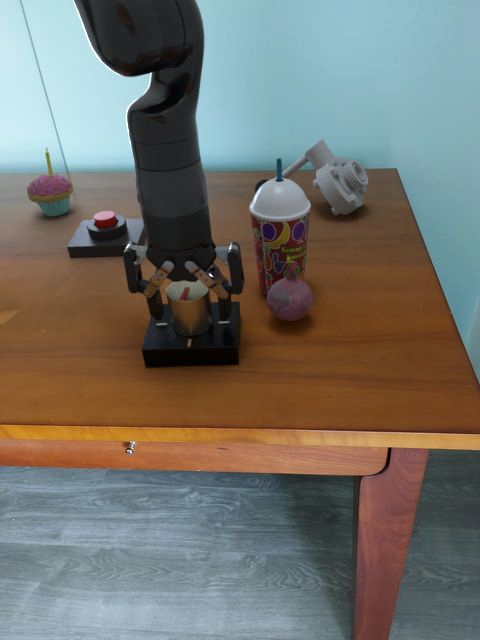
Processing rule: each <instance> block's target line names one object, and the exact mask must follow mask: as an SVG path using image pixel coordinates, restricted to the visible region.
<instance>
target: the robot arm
mask: <svg viewBox="0 0 480 640" xmlns="http://www.w3.org/2000/svg"><path fill="white" fill-rule="evenodd" d="M72 1H73V5H74V6H75V9H76V11H77V13H78V17H79V19H80V21H81V24H82V27H83V30H84V32H85V33H84V34H85V35H86V39H87V41H88V43H89V45H90V48H91V50H92V51H93V52H94V55H95V56H96V58H98V60H99V61H100V62H101V63H102V64H103V65H104V66H105V67H106V68H107V69H109V70H110V71H111V72H113V73H115V74H116V75H119V76H120V77H123V78H138V77H143V76H146V75H149V74H150V78H149V83H148V87H147V89H146V90H145V92H144V93H143V94H141V95H140V96H139V97H138V98H136V99H135V100H134V101H132V103H130V104H129V105H128V107H127V108H126V113H125V121H126V128H127V133H128V140H129V145H130V150H131V154H132V155H131V156H132V159H133V167H134V178H135V187H136V198H137V203H138V204H139V209H140V213H141V218H143V223H144V228H145V234H146V239H145V240H146V242H147V245H143V246H138V245H137V243H135V242H129V244H128V245H127V247H126V249H125V251H124V253H123V256H122V260H123V265H124V270H125V277H126V282H127V289H128V291H129V293H131V294H137V293H138V294H141V295H143V296H144V297H145V299H146V305H147V308H148V312H149V315H150V317H151V316H153V317H155V320H156V321H161V320H162V317H163V315H164V307H163V304H164V303H163V298H162V293H161V288H160V287H161V286H162V284H163V283H164V281H165V280H166V279H167V280H170V281H171V283H172V282H179V281H188V282H197V280H200V281H201V282H202V283H203V284H204V285H205V286H206V287H207V288H209V290H210V289H211V291H213V293H215V294H216V295H217V302H218V305H219V314H220V321H224V322H226V320H227V317H228V318H230V315H231V311H232V302H233V300H232V296H233V295H236V296H240V295H241V294H242V293H243V290H244V285H245V281H246V279H245V273H244V266H243V260H242V253H241V246H240V243H239V242H237V241H232V242H230V243H229V245H225V246H217V245H216V244H215V242H214V240H213V234H212V226H211V217H210V207H209V197H208V189H207V188H208V187H207V180H206V179H207V178H206V175H205V171H204V167H203V163H202V162H203V161H202V157H201V149H200V140H199V132H198V131H199V130H198V124H197V123H198V121H197V111H198V105H199V100H200V99H199V98H200V92H201V91H200V90H201V83H202V75H203V65H204V59H205V58H204V56H205V45H206V44H205V42H206V41H205V40H206V39H205V38H206V37H205V36H206V35H205V26H204V20H203V17H202V13H201V10H200V7H199V5H198V2H197V0H72ZM145 258H146V259H147V260H148V261H149V262H150V264H152V266H154V268H156V269H155V271H154V272H153V274H152V275H151V277H150V279H149V280H148V279H144V277H143V270H142V264H143V261H144V259H145ZM217 258H219V259H220V260H221V261H222V264H223V265H224V266H226V267H228V270H229V276H230V280H228V279H227V277H225V276H224V275H223V273H222V272H221V269H220V267H218V266H217V264H216V263H215V261H216V259H217Z"/></svg>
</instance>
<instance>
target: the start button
mask: <svg viewBox="0 0 480 640" xmlns="http://www.w3.org/2000/svg"><path fill="white" fill-rule="evenodd" d="M115 214H116V212H114V211H112V210H103V211H98V212H97V213H95V214H94V216H93V218H94V220H95V224H96V227H97V228H108V227H112V226H114V225H116V224H117V220H116V216H115Z"/></svg>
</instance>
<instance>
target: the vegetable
mask: <svg viewBox="0 0 480 640" xmlns="http://www.w3.org/2000/svg"><path fill="white" fill-rule="evenodd" d="M286 260H287V263H288V265H287V267H288V275H287V277H285V278H283V279H281V280H279V281H277V282H275V283H274V284H273V285H272V286H271V288H270V289H269V292H268V296H266V304H267V307H268V310H269V311H270V313H271V314H272V315H274V317H276V318H277V319H279V320H283V321H285V322H293V321H294V322H295V321H297V320H300V319H302V318H303V317H305V316H306V315H307V314H308V313H309V311H310V310H311V308H312V305H313V300H314V295H313V292H312V290H311V288H310V286H309V285H308V283H306V282H305V281H304V282H303V281H302V280H300V279H298V278H296V270H295V264H294V260H293V262H292V260H291V258H290V257H287V259H286Z"/></svg>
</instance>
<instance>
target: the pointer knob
mask: <svg viewBox="0 0 480 640" xmlns="http://www.w3.org/2000/svg"><path fill="white" fill-rule="evenodd" d="M165 294H166V299H167V304H168V306H169V311H170V316H171V322H172V327H173V330H174V331H175V332H176V333H178V334H180V335H183V336H197V335H201V334H203V333H205V332H207V331H208V330H210V329H211V327H212V325H213V315H212V307H211V302H212V301H211V300H212V299H211V290H210V289H209V288H207V287H206V286H205V285H204V284H203V283H202V282H201V281H200V280H197V282H188V281H179V282H172V281H171V282H170V284H169V285H167V287H166V289H165Z"/></svg>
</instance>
